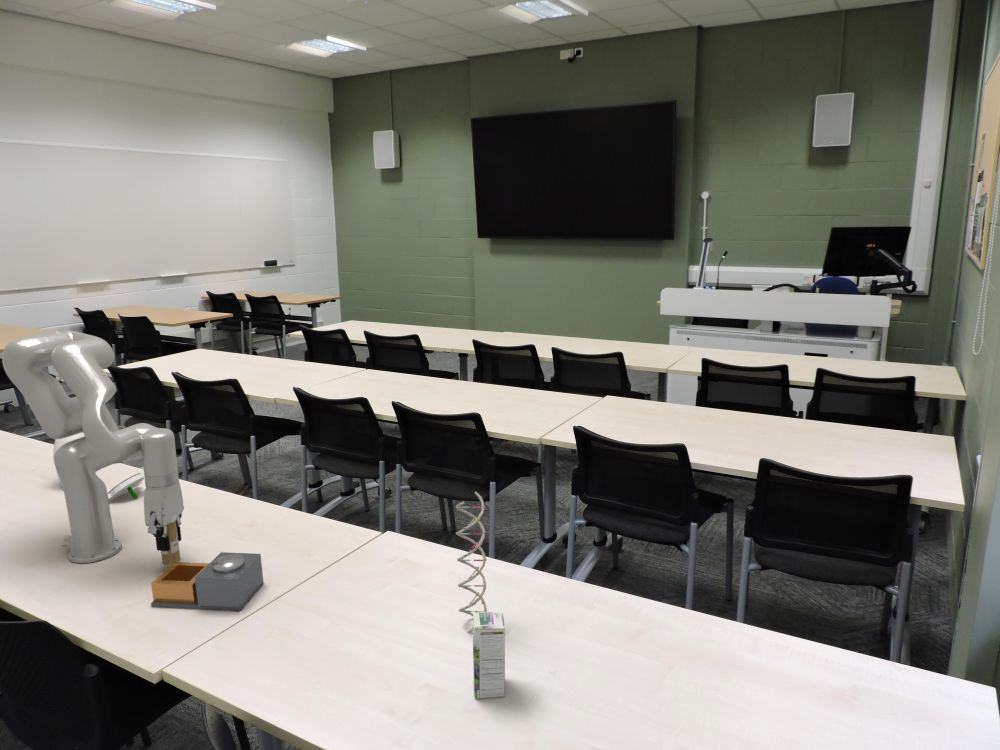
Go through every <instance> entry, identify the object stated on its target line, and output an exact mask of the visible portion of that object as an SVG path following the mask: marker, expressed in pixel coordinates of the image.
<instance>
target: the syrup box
mask: <svg viewBox="0 0 1000 750" xmlns="http://www.w3.org/2000/svg"><path fill="white" fill-rule="evenodd" d="M472 614H473V616H472V617H473V618H472V624H473V625H472V628H473V631H472V659H473V660H472V663H473V666H472V667H473V692H474V693H473V694H474V699H476V700H478V699H479V700H480V699H491V698H492V699H493V698H502V697H503V698H505V697H506V670H505V669H506V639H505V638H506V637H505V635H506V630H505V618H504V613H503V612H502V611H487V612H478V613H475V612H473V613H472Z"/></svg>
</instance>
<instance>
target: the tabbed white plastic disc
mask: <svg viewBox="0 0 1000 750" xmlns="http://www.w3.org/2000/svg"><path fill="white" fill-rule="evenodd" d="M143 475H144V474H142V473H141V472H138V473H135V474H133V475H131V476H129V477H128V478H126V479H124V480H122V481H121V482H119V483H118V484H117V485H115V486H113V487H112V488H111V489H110V490H109V491H107V494H108V500H114V499H116V498H118V497H120V496H122V495H124V494H126V493H127V491H128V493H129V494H130V495H131V496H132V498H133V499H134V498H136V499H137V497H138V498H139V496H138V495H137V494H136V492H135V491H134V488H136V487H139V486H140V485H142V484H143V480H145V476H143ZM125 492H126V493H125ZM123 493H124V494H123ZM121 494H122V495H121ZM119 495H120V496H119ZM117 496H118V497H117ZM115 497H116V498H115ZM113 498H114V499H113Z"/></svg>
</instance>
